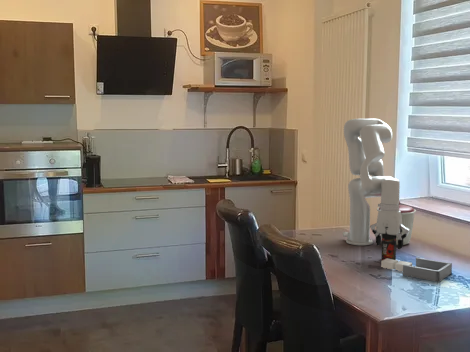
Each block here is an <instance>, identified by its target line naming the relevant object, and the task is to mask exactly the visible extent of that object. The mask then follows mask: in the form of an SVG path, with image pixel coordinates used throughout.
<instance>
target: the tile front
mask: <svg viewBox="0 0 470 352" xmlns="http://www.w3.org/2000/svg"><path fill="white" fill-rule="evenodd" d="M403 265H409V266H413V262H409V261H402V260H398V263H396V268H395V271H396V270H398V271H397V272H402V271H403Z"/></svg>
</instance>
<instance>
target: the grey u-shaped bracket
mask: <svg viewBox="0 0 470 352" xmlns="http://www.w3.org/2000/svg"><path fill="white" fill-rule="evenodd" d="M452 268H453V263H452V262H445V261H442V260H441V261H440V260H435V259H429V258H428V259H427V258H423V257H422V258H421V257H415V266H414V265H412V266H409V265H403V272H402V275H403V276H405V275H406V276H405V277H410V276H411V278H415V277H416V278H417V279H420V280H421V279H422V280H427V281H433V282H437V283H439V282H441V281H443V280H444V279H446V278H447V277H448V276H450V275H452V270H453V269H452Z"/></svg>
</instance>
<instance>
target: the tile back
mask: <svg viewBox="0 0 470 352" xmlns="http://www.w3.org/2000/svg"><path fill="white" fill-rule="evenodd" d="M398 262H399V260H398V259H396V260H393V259H388V258H387V259H385V260H382V259H381V261H380V263H381V265H380V266H381V267H383V269H386V268H387V269H388V270H391V269H392V271H393V270H396V263H398Z"/></svg>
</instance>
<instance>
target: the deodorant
mask: <svg viewBox="0 0 470 352" xmlns="http://www.w3.org/2000/svg"><path fill="white" fill-rule="evenodd" d="M386 228H388V227H385V229H386ZM386 230H387V229H386ZM387 258H388V259H393V260H397V245H396V235H389V234H387V232H386V233H385V234H382V239H381V261H382V260H385V259H387Z"/></svg>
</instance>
